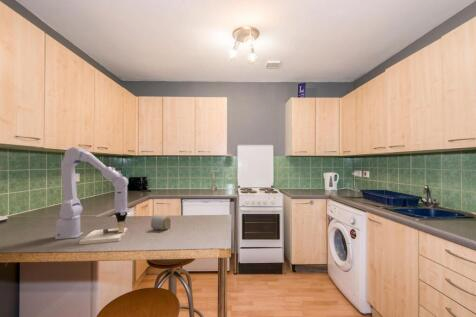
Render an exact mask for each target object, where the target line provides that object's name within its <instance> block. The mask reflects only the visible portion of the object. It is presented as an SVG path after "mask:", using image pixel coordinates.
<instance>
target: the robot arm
mask: <svg viewBox="0 0 476 317" xmlns="http://www.w3.org/2000/svg"><path fill="white" fill-rule="evenodd" d="M82 162H86V163H87V162H88V163H89V164H90V165H92V166H93V167H94V168H95V169H97V170H99V171H100V172H101V176H102V177H104V178H105V179H106V180H107V181H109V182H110V183H111V184H112V186H113V188H114V208H113V209H114V212H115V213H114V216H115V218H116V222H117V223H118V222H119V221H124V223H125V221H126V218H127V216H128V212H127V211H129V210H131V209H130V207H128V185H129V180H128V178H127V177H126V176H123V174H122V173H119V172H118V171H117V170H116V168H115V167H111V166H107V165H105V164H104V163H103V162H102V161H101V160H100V159H98V157H97V156H95V155H94V154H92V152H90V151H88V150H87V149H85V148H80V147H74V146H72V147H69V148H68V149H67V150H66V151H65V152H64V156H63V159H62V161H61V163H60V168H61V170H60V171H61V181H62V190H63V193H62V194H63V201H62V202H61V204H60V209H59V216H60V217H61V218H60V219H58V220H57V221H56V224H55V237H54V240H65V239H77V238H79V237H80V236H82V235H83V234H84V232H81V214H82V213H83V210H84V208H83V206H82V204H81V200H80V199H79V198H78V193H77V192H78V190H77V180H76V170H75V167H76V166H78V165H79V164H80V163H82Z"/></svg>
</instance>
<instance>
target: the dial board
mask: <svg viewBox="0 0 476 317" xmlns="http://www.w3.org/2000/svg"><path fill="white" fill-rule="evenodd" d="M107 229H108V231H114V230H118V228H107ZM103 230H104V229H94V230H93V231H91V232H89V233H87V235H86V236H84V237H82V239H81V240H79V245H89V244H101V243H111V242H120V240H121V239H122V238H123V237H124V235H126V233H127V232H128V227H124V231H123V232H116V233H106V234H103ZM126 231H127V232H126ZM125 232H126V233H125ZM122 236H123V237H122ZM121 237H122V238H121Z"/></svg>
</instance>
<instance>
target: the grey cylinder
mask: <svg viewBox="0 0 476 317" xmlns="http://www.w3.org/2000/svg"><path fill="white" fill-rule="evenodd" d="M170 218H171V217H169V216H166V215H160V214H154V215H153V216H152V217H151V220H150V227H151V229H153V230H156V229H157V230H159V231H166V230H168V229H169V228H170V227H171V224H172V223H171V219H170ZM169 226H170V227H169ZM157 230H156V231H157Z"/></svg>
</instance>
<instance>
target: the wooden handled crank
mask: <svg viewBox="0 0 476 317" xmlns="http://www.w3.org/2000/svg"><path fill="white" fill-rule="evenodd" d="M117 226H118V227H117V229H118V230H114V231H108V229H109V228H105V229H102V230H103V234H106V233H116V232H123V231H124V228H125V222H124V221H119V222H117Z"/></svg>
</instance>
